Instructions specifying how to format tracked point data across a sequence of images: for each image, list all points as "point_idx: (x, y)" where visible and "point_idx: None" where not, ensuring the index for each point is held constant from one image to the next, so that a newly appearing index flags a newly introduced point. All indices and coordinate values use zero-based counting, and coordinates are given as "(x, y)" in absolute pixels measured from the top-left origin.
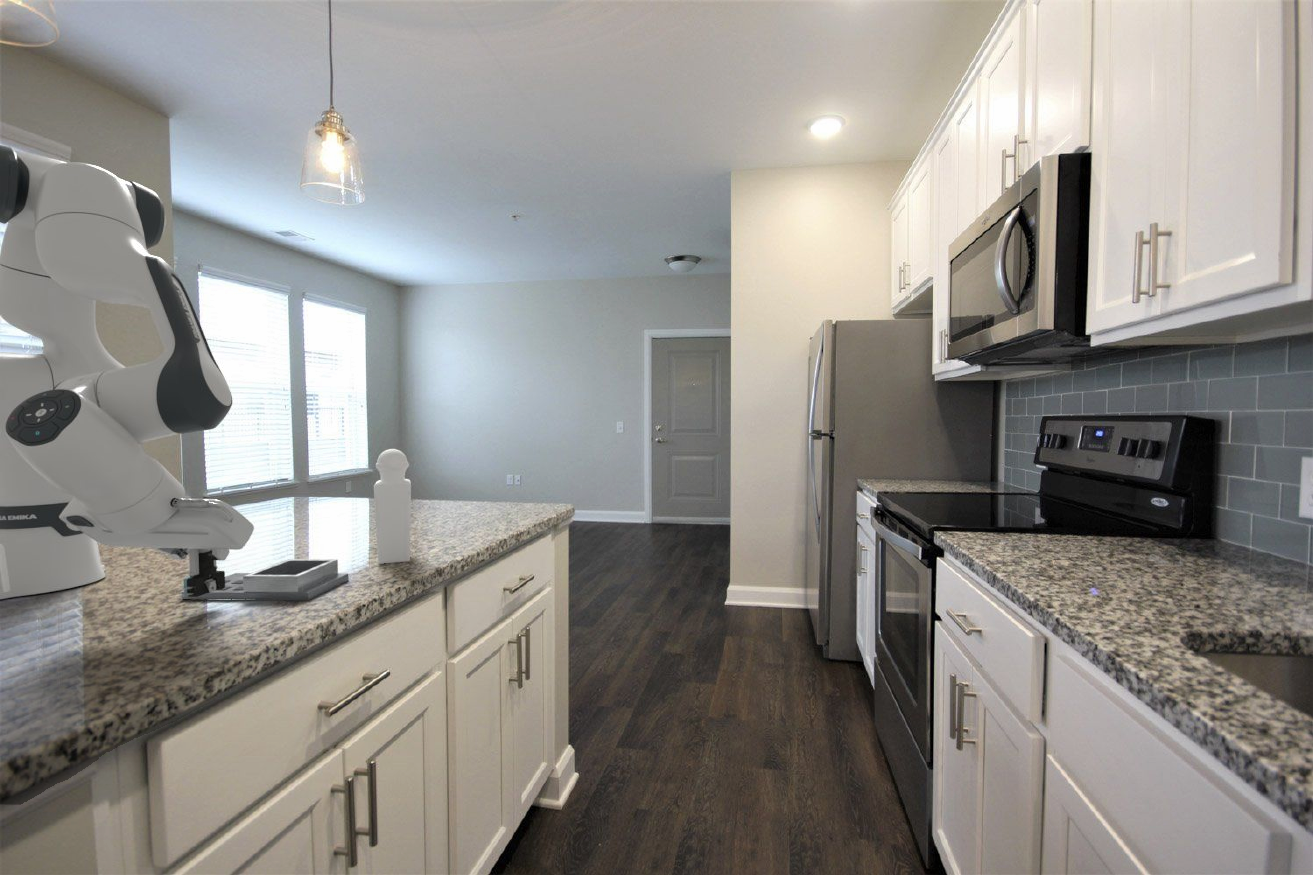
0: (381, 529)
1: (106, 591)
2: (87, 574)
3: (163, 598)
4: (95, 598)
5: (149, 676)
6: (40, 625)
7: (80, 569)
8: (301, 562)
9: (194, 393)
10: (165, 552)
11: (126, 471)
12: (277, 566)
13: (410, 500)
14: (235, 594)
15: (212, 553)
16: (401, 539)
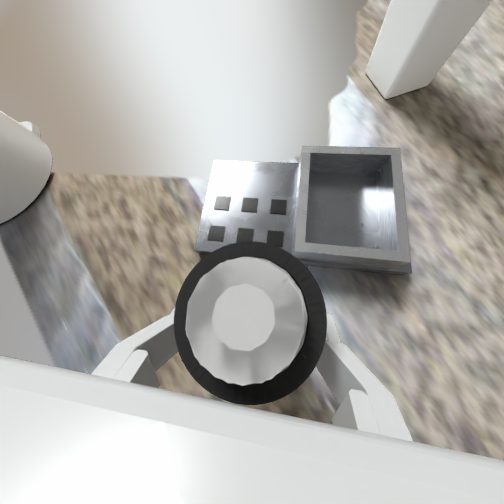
0: (439, 19)
1: (82, 207)
2: (32, 171)
3: (169, 243)
4: (84, 235)
5: None
6: (78, 348)
7: (15, 171)
8: (331, 156)
9: None
10: (174, 352)
11: None
12: (308, 183)
13: None
14: None
15: (326, 382)
16: (452, 40)
